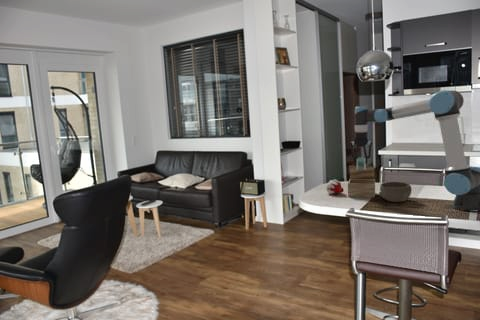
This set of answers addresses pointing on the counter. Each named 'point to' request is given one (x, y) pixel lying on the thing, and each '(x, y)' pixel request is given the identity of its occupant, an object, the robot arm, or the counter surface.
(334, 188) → the red and white lump
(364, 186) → the carton
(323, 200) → the counter surface
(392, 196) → the bowl
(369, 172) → the flap
